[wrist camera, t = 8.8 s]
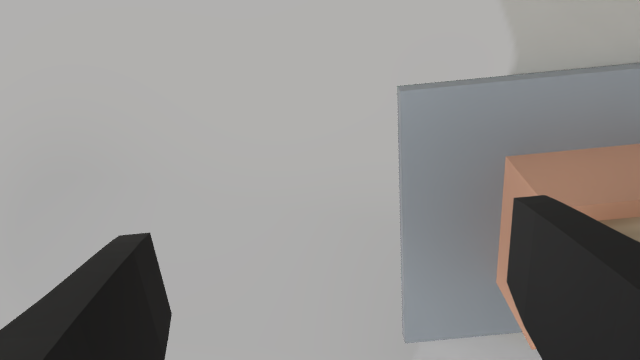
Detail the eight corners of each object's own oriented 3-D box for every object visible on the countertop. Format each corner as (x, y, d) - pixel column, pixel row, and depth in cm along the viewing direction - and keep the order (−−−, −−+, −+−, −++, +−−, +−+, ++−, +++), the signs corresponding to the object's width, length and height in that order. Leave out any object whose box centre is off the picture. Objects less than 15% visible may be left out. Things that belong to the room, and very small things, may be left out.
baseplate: (402, 334, 26) (404, 343, 25) (397, 86, 20) (399, 91, 20) (701, 305, 26) (710, 313, 25) (776, 49, 20) (789, 53, 20)
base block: (496, 282, 24) (531, 349, 20) (505, 156, 21) (548, 208, 18) (634, 269, 24) (694, 333, 20) (661, 141, 21) (736, 190, 18)
